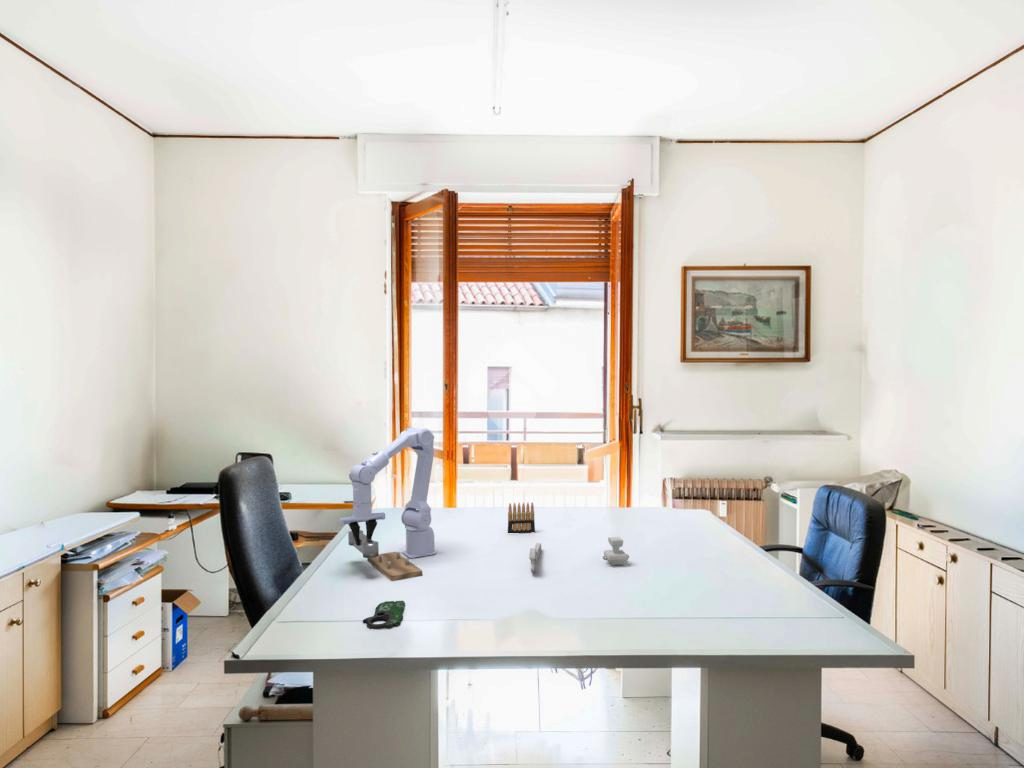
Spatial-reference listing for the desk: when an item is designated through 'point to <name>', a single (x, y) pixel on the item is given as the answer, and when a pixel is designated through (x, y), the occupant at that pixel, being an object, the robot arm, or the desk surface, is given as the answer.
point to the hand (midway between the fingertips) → (363, 544)
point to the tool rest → (395, 566)
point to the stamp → (615, 552)
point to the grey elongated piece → (364, 545)
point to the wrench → (534, 556)
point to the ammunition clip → (526, 520)
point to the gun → (386, 615)
